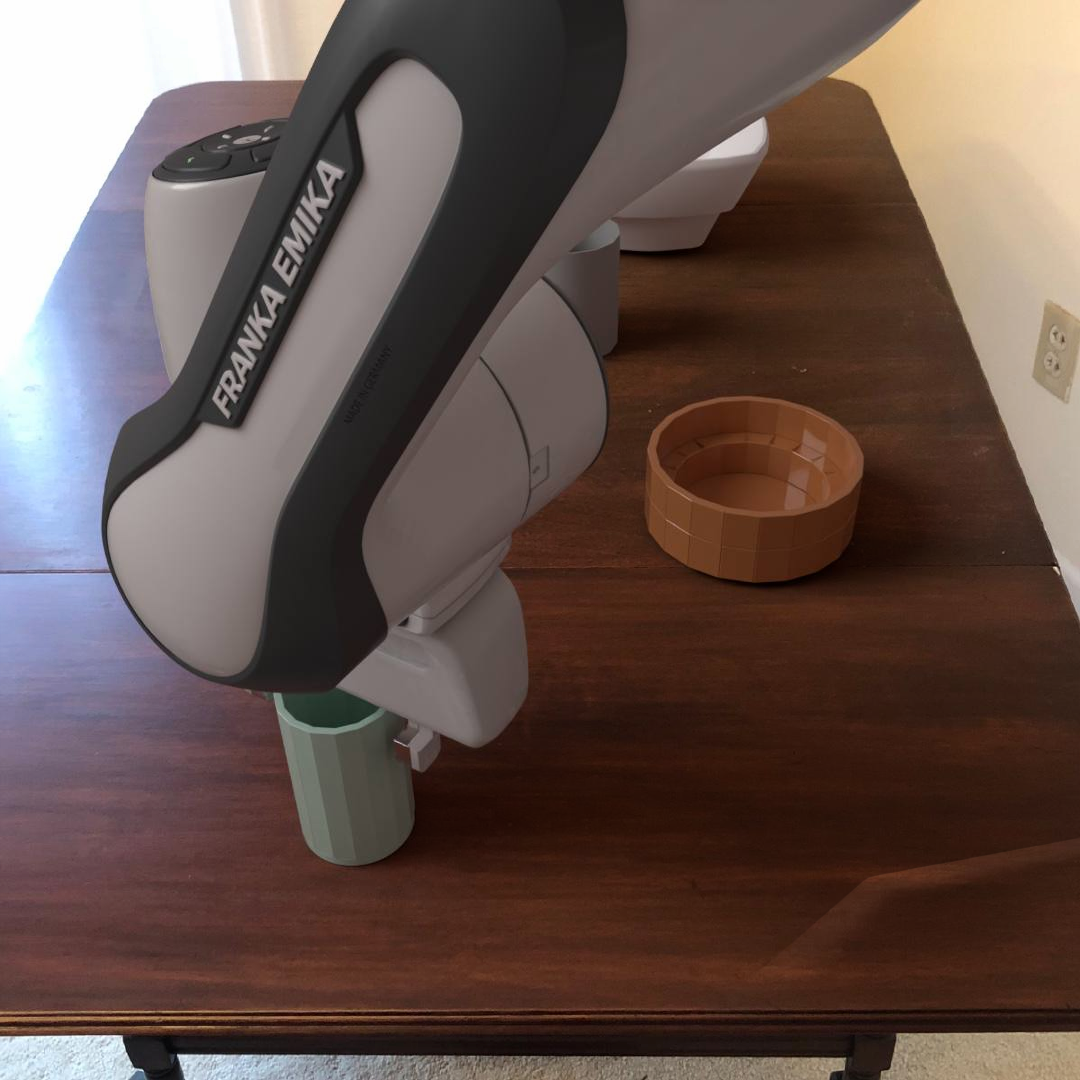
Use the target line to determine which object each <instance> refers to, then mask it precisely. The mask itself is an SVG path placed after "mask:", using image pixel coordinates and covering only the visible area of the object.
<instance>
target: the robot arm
mask: <svg viewBox="0 0 1080 1080" xmlns="http://www.w3.org/2000/svg"><path fill="white" fill-rule="evenodd" d="M920 2H922V0H344V1H343V3H342V4H341V6H340V8H339V10H338V12H337V14H336V16H335V17H334V20H333V22H332V24H331V26H330V28H329V30H328V31H327V34H326V35H325V38H324V39H323V41H322V43H321V46H320V48H319V50H318V52H317V54H316V57H315V58H314V61H313V62H312V65H311V67H310V70H309V71H308V74H307V76H306V78H305V80H304V82H303V84H302V86H301V89H300V91H299V93H298V95H297V97H296V100H295V102H294V105H293V107H292V109H291V112H290V113H289V116H288V117H278V118H276V117H275V118H268V119H263V120H261V121H258V122H253V123H247V124H244V125H241V124H239V125H236V126H232V127H230V128H227V129H223V130H219V131H217V132H215V133H212V134H209V135H206V136H204V137H202V138H200V139H197V140H195V141H193V142H190V143H188V144H186V145H183V146H181V147H179V148H177V149H175V150H174V151H171V152H170V153H168V154H167V155H166V156H165V157H164V159H163V160H162V161H161V162H160V163H158V165H156V166H155V168H153V169H152V171H151V173H150V174H149V177H148V180H147V184H146V187H145V195H144V208H143V218H144V219H143V226H144V227H143V229H144V244H145V245H144V246H145V256H146V257H145V258H146V267H147V274H148V282H149V289H150V297H151V301H152V307H153V312H154V318H155V324H156V329H157V332H158V333H157V334H158V338H159V343H160V348H161V353H162V357H163V360H164V366H165V370H166V374H167V376H168V379H169V382H170V384H171V386H170V387H169V389H167V391H166V392H165V393H164V394H163V395H161V397H159V398H158V399H157V400H156V401H154V402H153V403H151V404H150V405H148V406H146V407H144V408H143V409H141V410H139V411H138V412H136V413H135V414H133V415H132V416H130V417H129V418H128V419H127V420H126V421H125V422H124V423H123V424H122V426H121V427H120V429H119V432H118V433H117V437H116V440H115V443H114V445H113V449H112V451H111V455H110V459H109V463H108V468H107V472H106V477H105V482H104V488H103V495H102V504H101V519H100V520H101V521H100V522H101V523H100V525H101V526H100V527H101V528H100V531H101V541H102V548H103V551H104V557H105V559H106V563H107V566H108V569H109V572H110V575H111V577H112V580H113V582H114V585H115V586H116V588H117V591H118V592H119V594H120V596H121V598H122V600H123V602H124V604H125V605H126V607H127V609H128V611H129V613H131V615H132V617H133V618H134V619H135V621H136V622H137V624H138V625H139V626H140V628H141V629H142V630H143V632H145V634H146V635H147V636H148V637H149V639H150V640H151V641H152V642H153V643H154V644H155V645H156V646H157V647H158V648H159V650H161V651H162V652H163V653H164V654H165V655H166V656H167V657H168V658H170V659H171V660H172V661H173V662H174V663H176V664H177V665H179V666H180V667H181V668H183V669H185V670H186V671H187V672H189V673H190V674H192V675H195V676H196V677H199V678H201V679H203V680H206V681H209V682H211V683H215V684H218V685H223V686H227V687H232V688H237V689H242V690H244V692H245V693H248V694H250V695H252V696H255V697H258V698H260V699H262V700H264V701H267V702H272V701H274V696H273V693H286V694H322V693H326V692H328V691H331V690H332V689H333V688H335V687H336V688H338V689H340V690H343V691H345V692H347V693H349V694H352V695H354V696H356V697H358V698H361V699H363V700H365V701H367V702H370V703H372V704H374V705H376V706H379V707H381V708H383V709H385V710H388V711H390V712H392V713H395V714H397V715H399V716H401V717H404V719H406V720H407V724H406V728H405V729H406V730H403V731H401V732H400V733H399V734H398V735H397V737H396V738H395V739H394V740H393V741H394V749H395V751H396V752H397V754H396V755H395V757H396V760H397V761H399V762H401V763H403V764H405V765H407V766H409V767H410V769H413V770H415V771H417V772H419V773H424V772H426V771H427V769H428V768H429V767H430V766H431V765H432V764H433V762H434V761H435V760H436V759H437V758H438V756H439V754H440V752H441V748H442V745H441V735H442V736H444V737H447V738H449V739H451V740H453V741H455V742H458V743H460V744H462V745H464V746H465V747H468V748H471V749H479V748H481V747H484V746H486V745H487V744H489V743H490V742H492V741H493V740H495V739H496V738H497V737H498V736H499V735H500V734H501V733H503V731H504V730H505V729H506V728H507V727H508V725H509V724H510V723H511V722H512V721H513V719H514V718H515V717H516V716H517V714H518V712H519V711H520V709H521V707H522V706H523V704H524V703H525V700H526V698H527V695H528V691H529V675H530V674H529V656H528V655H529V654H528V644H527V636H526V635H527V634H526V633H527V632H526V627H525V620H524V614H523V608H522V603H521V601H520V597H519V595H518V593H517V590H516V588H515V586H514V584H513V582H512V580H511V579H510V577H508V576H507V574H506V573H505V572H504V571H503V570H502V569H501V568H500V565H501V564H502V562H503V561H504V559H506V557H507V555H508V554H509V552H510V550H511V547H512V541H513V540H512V539H513V538H512V533H513V532H515V531H516V530H517V529H518V528H519V527H521V526H522V525H524V523H526V522H527V521H528V520H530V519H531V518H532V517H533V516H534V515H536V514H537V513H538V512H539V511H540V510H542V509H544V507H545V506H547V505H548V504H550V503H551V501H553V500H554V499H555V498H557V497H558V496H559V495H560V494H562V493H563V492H564V491H565V490H566V489H568V488H569V487H570V486H571V485H572V484H573V483H574V482H575V481H576V480H577V479H578V478H579V477H580V476H581V475H582V474H583V473H585V472H586V471H588V470H589V469H590V468H591V467H592V466H593V465H594V464H595V463H596V461H597V460H598V458H599V457H600V455H601V453H602V451H603V448H604V446H605V443H606V440H607V436H608V431H609V425H610V417H611V396H610V395H611V394H610V385H609V383H610V382H609V377H608V373H607V367H606V365H605V361H604V358H603V357H604V356H602V354H601V351H600V348H599V345H598V342H597V340H596V338H595V336H594V334H593V331H592V330H591V328H590V326H589V324H588V322H587V320H586V319H585V317H584V315H583V314H582V312H581V311H580V309H579V308H578V307H577V306H576V304H575V303H574V302H573V300H572V299H571V298H570V297H569V296H568V295H567V294H566V293H565V292H564V291H563V290H562V289H561V288H560V287H559V286H558V285H557V284H556V283H554V282H553V281H552V280H550V279H549V278H548V277H546V276H545V275H544V274H545V273H546V272H547V271H548V270H550V269H551V268H552V267H553V266H554V265H555V264H556V263H557V262H558V261H559V260H560V259H561V258H563V257H564V256H565V255H566V254H567V253H568V252H569V251H571V250H572V249H573V248H574V247H575V246H576V245H578V244H579V243H580V242H581V241H582V240H584V239H585V238H586V237H587V236H589V235H590V234H591V233H592V232H594V231H595V230H596V229H597V228H599V227H600V226H601V225H602V224H604V223H605V222H606V221H608V220H609V219H610V218H612V217H613V216H614V215H616V214H617V213H618V212H620V211H621V210H622V209H624V208H625V207H626V206H628V205H629V204H631V203H632V202H633V201H635V200H636V199H638V198H639V197H640V196H642V195H643V194H645V193H646V192H648V191H649V190H651V189H652V188H653V187H655V186H656V185H658V184H659V183H661V182H662V181H664V180H665V179H667V178H668V177H670V176H671V175H673V174H674V173H676V172H677V171H679V170H680V169H682V168H683V167H685V166H686V165H688V164H689V163H691V162H693V161H694V160H696V159H697V158H699V157H700V156H702V155H703V154H705V153H706V152H708V151H710V150H711V149H713V148H714V147H716V146H717V145H719V144H721V143H722V142H724V141H725V140H727V139H728V138H730V137H732V136H733V135H735V134H736V133H738V132H740V131H741V130H743V129H745V128H746V127H748V126H749V125H751V124H753V123H754V122H756V121H757V120H759V119H761V118H762V117H764V118H765V116H767V115H769V114H770V113H772V112H774V111H775V110H777V109H778V108H780V107H782V106H784V105H785V104H786V103H788V102H790V101H791V100H793V99H794V98H796V97H798V96H799V95H801V94H803V93H804V92H806V91H807V90H809V89H811V88H812V87H814V86H815V85H817V84H818V83H820V82H821V81H823V80H824V79H826V78H828V77H829V76H831V75H833V74H834V73H835V72H837V71H838V70H840V69H842V68H843V67H844V66H846V65H847V64H849V63H850V62H851V61H853V60H854V59H855V58H857V57H858V56H860V55H861V54H862V53H864V52H865V51H866V50H867V49H870V47H872V46H873V45H874V44H875V43H877V42H878V41H879V40H880V39H881V38H883V36H884V35H886V34H887V33H888V32H889V31H890V30H891V29H892V28H893V27H895V25H897V24H898V23H899V22H900V21H901V20H902V19H903V18H904V17H905V16H906V15H907V14H909V13H910V11H912V10H913V9H914V8H915V7H916V6H917V5H918V4H919V3H920Z"/></svg>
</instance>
